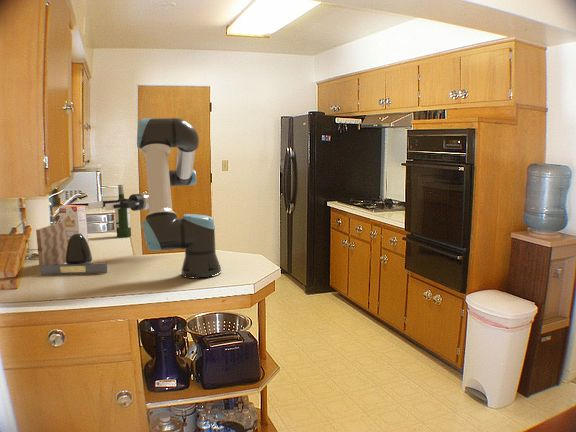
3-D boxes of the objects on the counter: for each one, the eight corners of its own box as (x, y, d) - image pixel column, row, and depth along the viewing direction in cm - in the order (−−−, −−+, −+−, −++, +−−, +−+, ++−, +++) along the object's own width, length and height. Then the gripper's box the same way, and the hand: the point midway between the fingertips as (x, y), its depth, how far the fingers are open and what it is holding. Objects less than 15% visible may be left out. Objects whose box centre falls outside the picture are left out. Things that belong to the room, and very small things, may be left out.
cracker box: (61, 244, 272) (58, 205, 269) (71, 242, 277) (67, 204, 274) (79, 245, 265) (76, 206, 263) (88, 243, 271) (85, 205, 268)
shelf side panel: (43, 273, 205) (39, 229, 202) (40, 273, 205) (36, 230, 202) (68, 260, 229) (65, 221, 226) (65, 260, 229) (62, 221, 226)
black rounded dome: (95, 265, 216) (93, 230, 214) (88, 271, 206) (85, 235, 204) (71, 267, 216) (68, 232, 213) (63, 273, 205) (59, 236, 203)
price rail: (105, 273, 202) (105, 263, 201) (40, 275, 202) (39, 265, 201) (107, 272, 204) (106, 262, 203) (43, 274, 204) (42, 264, 203)
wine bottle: (116, 236, 293) (112, 184, 289) (130, 235, 296) (126, 183, 292) (117, 238, 286) (114, 185, 282) (132, 237, 289) (128, 184, 285)
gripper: (157, 211, 224) (113, 216, 208) (125, 208, 240) (82, 213, 223) (155, 194, 223) (112, 198, 207) (124, 193, 239) (81, 196, 222)
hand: (97, 206), depth 215 cm, fingers open, 13 cm apart
